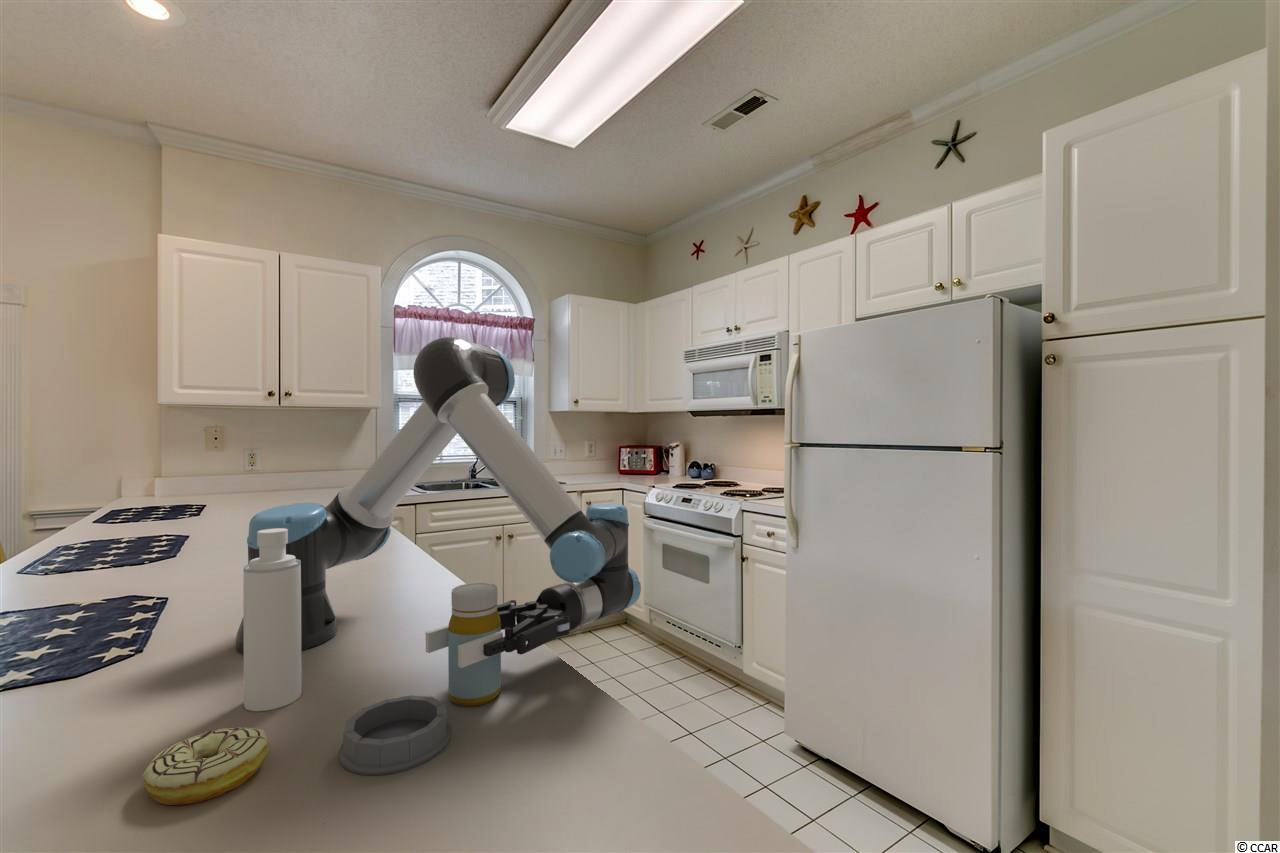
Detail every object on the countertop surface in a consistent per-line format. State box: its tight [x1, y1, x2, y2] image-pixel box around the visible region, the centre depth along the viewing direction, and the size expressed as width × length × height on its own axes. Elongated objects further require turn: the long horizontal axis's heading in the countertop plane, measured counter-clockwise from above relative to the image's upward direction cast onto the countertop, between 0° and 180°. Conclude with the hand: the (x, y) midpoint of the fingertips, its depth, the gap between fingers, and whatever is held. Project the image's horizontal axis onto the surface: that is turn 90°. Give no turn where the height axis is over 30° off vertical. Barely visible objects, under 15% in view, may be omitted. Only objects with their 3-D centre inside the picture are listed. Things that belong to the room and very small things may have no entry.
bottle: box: [447, 582, 502, 707], centre depth 79 cm, size 7×7×15 cm
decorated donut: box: [142, 726, 270, 806], centre depth 61 cm, size 10×11×4 cm
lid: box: [339, 695, 451, 776], centre depth 67 cm, size 12×12×3 cm
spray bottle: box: [242, 528, 302, 712], centre depth 78 cm, size 7×7×25 cm
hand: (443, 649), depth 75 cm, fingers closed on bottle, 7 cm apart
